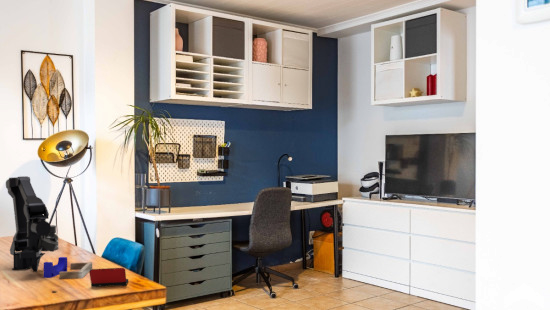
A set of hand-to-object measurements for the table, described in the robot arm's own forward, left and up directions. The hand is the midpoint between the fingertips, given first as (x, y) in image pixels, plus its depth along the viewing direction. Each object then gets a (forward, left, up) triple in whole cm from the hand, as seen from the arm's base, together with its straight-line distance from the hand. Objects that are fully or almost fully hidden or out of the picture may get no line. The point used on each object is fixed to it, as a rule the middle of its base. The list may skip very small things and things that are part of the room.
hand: (35, 272), depth 222 cm
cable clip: (+7, 0, -2) cm, 7 cm away
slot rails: (+15, 0, -1) cm, 15 cm away
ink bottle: (-11, +61, -1) cm, 62 cm away
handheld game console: (+33, -22, -2) cm, 40 cm away
